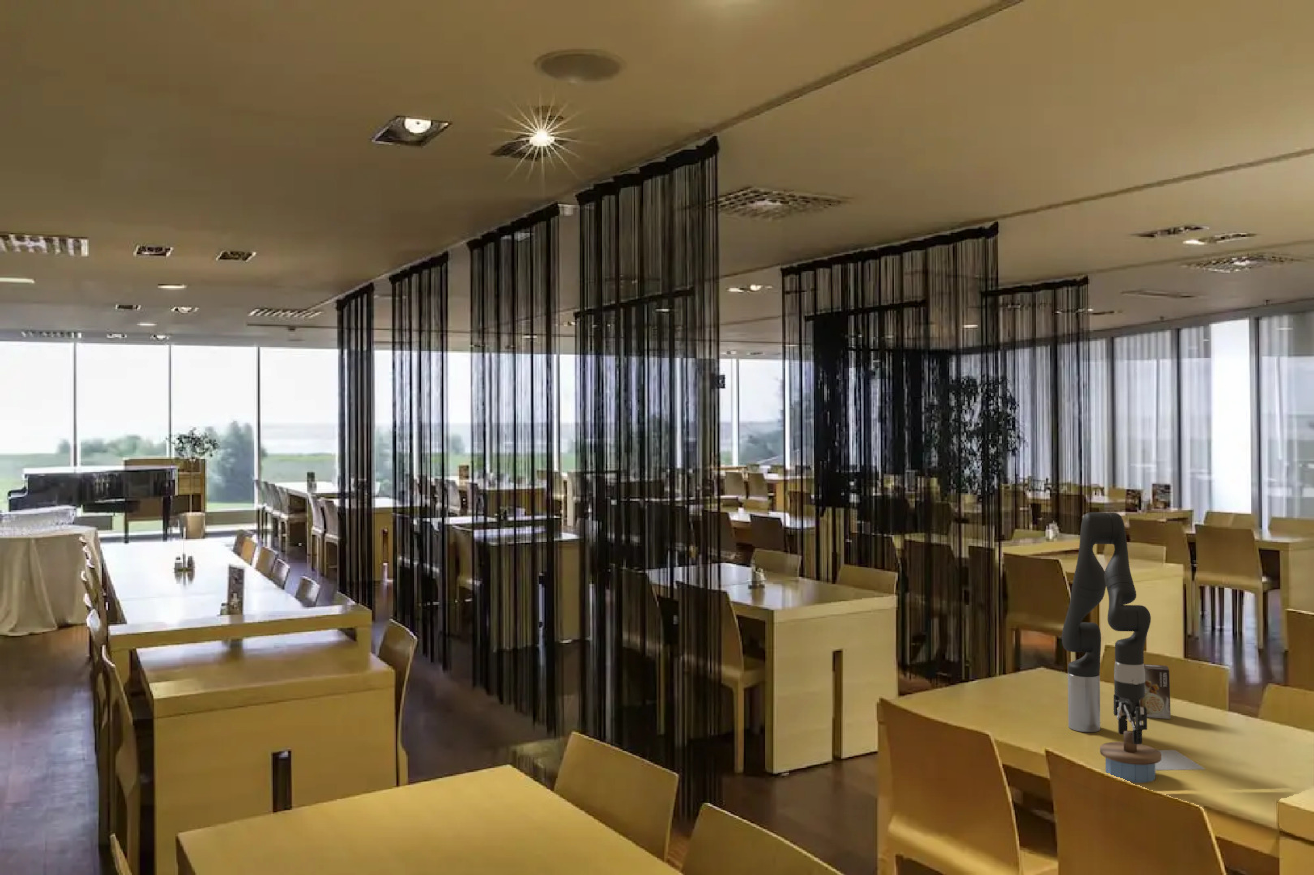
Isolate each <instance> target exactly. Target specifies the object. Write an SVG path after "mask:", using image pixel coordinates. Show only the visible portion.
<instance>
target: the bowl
mask: <svg viewBox="0 0 1314 875" xmlns="http://www.w3.org/2000/svg"><path fill="white" fill-rule="evenodd" d="M1156 771H1157V770H1156V766H1155V764H1148V765H1137V764H1127V763H1122V762H1117V761H1114V760H1111V759H1108V758H1106V757H1105V773H1106V774H1107V773H1110V774H1111V775H1114V776H1116V777H1120V778H1123V779H1125V780H1127V781H1132V782H1131V783H1134V784H1135V783H1137V784H1141V783H1151V782H1153V781H1154V780H1156V777H1157V775H1156V773H1157V772H1156ZM1127 781H1126V782H1127Z"/></svg>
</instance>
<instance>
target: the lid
mask: <svg viewBox="0 0 1314 875" xmlns="http://www.w3.org/2000/svg"><path fill="white" fill-rule="evenodd" d="M1158 750H1159V749H1156V748H1155V747H1152V746H1149V745H1146V744H1143V743H1142V744H1134V743H1133V730H1127V731H1124V734H1123V741H1111V742H1105V743H1103V744H1101V745H1100V746H1099V753H1100V754H1101V756H1103V757H1104V758H1105V759H1106V758H1108V759H1111V760H1114V761H1117V762H1122V763H1127V764H1137V765H1148V764H1155V763H1158V762H1160V761H1161V752H1160V751H1158Z"/></svg>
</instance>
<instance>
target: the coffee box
mask: <svg viewBox="0 0 1314 875" xmlns="http://www.w3.org/2000/svg"><path fill="white" fill-rule="evenodd" d="M1144 669H1145V697H1144V698H1142V699H1140V706H1141V707H1146V709H1147V718H1151V719H1162V720H1163V719H1166V720H1171V718H1172V717H1171V712H1172V711H1171V686H1170V685H1171V682H1170V681H1171V680H1170V668H1169V667H1168V665H1163V664H1148V663H1147V664H1145V663H1144Z"/></svg>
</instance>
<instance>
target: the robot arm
mask: <svg viewBox="0 0 1314 875" xmlns="http://www.w3.org/2000/svg"><path fill="white" fill-rule="evenodd" d="M1079 536H1080V537H1079V545H1078V547H1079V548H1078V554H1077V555H1078V556H1077V561H1076V566H1075V571H1074V574H1073V579H1072V580H1073V581H1072V585H1071V594H1070V598H1069V606H1068V609H1067V613H1066V616H1065V620H1064V623H1063V627H1062V631H1061V632H1062V633H1061V643H1062V647H1063V649H1065V651H1067V652H1071V653H1085V654H1084V655H1083V656H1082V657H1080V658H1079V659H1076V660H1075V659H1074V660H1072V661H1070V662H1068V664H1067V704H1068V705H1067V706H1068V707H1067V708H1068V709H1067V710H1068V711H1067V712H1068V713H1067V714H1068V715H1067V716H1068V717H1067V721H1068V725H1067V726H1068V728H1069V729H1071V730H1074V731H1076V732H1082V733H1096V732H1099V731H1100V730H1101V684H1100V683H1101V682H1100V681H1101V679H1100V678H1101V676H1100V675H1101V674H1100V673H1101V672H1100V671H1101V649H1102V634H1101V629H1100V627H1099V625H1098V624H1097V623H1096V622H1091V621H1090V622H1084V621H1083V620H1084V618H1086V616H1087V615H1089V613H1091V612H1092V611H1093V609H1095V608H1096V607H1097V606H1098V605H1099V604H1100V603H1101V602H1102V600H1103V599H1104V596H1105V593H1106V592H1107V594H1108V609H1107V624H1108V625H1109V627H1110V629H1112V630H1113V631H1116V632H1133V633H1132V634H1131V636H1128V637H1126V638H1121V639H1118V640H1117V641H1115V643H1114V666H1113V667H1114V668H1113V669H1114V670H1113V675H1114V678H1113V680H1114V681H1113V683H1114V685H1113V686H1114V689H1113V691H1114V694H1113V715H1114V716H1115V717H1116V720H1117V724H1118V726H1117V729H1118V734H1119V735H1124V731H1128V722H1129V723H1131V726H1132V727H1131V728H1132V731H1133V743H1134V744H1142V745H1143V731H1147V730H1148V717H1147V709H1146V707H1141V706H1140V699H1142V698H1144V697H1145V669H1144V664H1145V663H1144V662H1145V661H1144V658H1145V657H1144V656H1145V655H1144V654H1145V652H1144V648H1145V643H1146V640H1147V636H1148V632H1149V629H1150V626H1151V622H1152V616H1151V613H1150V611H1149V609H1148V608H1147V607H1146V606H1144V605H1140V604H1139V605H1137V604H1132V603H1134V601H1135V600H1137V599H1136V598H1137V591H1136V587H1135V584H1134V580H1133V577H1132V576H1133V575H1132V573H1131V569H1130V567H1131V566H1130V560H1129V550H1128V549H1129V548H1128V542H1127V534H1126V526H1125V523H1124V520H1123V517H1122V516H1121V515H1120V514H1119V513H1117V512H1097V511H1096V512H1093V511H1092V512H1087V513H1085V514H1084V515H1083V517H1082V520H1081V524H1080V535H1079ZM1095 545H1113V548H1114V552H1113V554H1112V556H1111V558H1110V560H1109V562H1108V564H1107V565H1106V567H1105V569H1104V568H1103V566H1102V564H1101V563H1100V562H1099V560H1098V558H1097V556H1096V554H1095V552H1094V546H1095ZM1082 621H1083V622H1082Z"/></svg>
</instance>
